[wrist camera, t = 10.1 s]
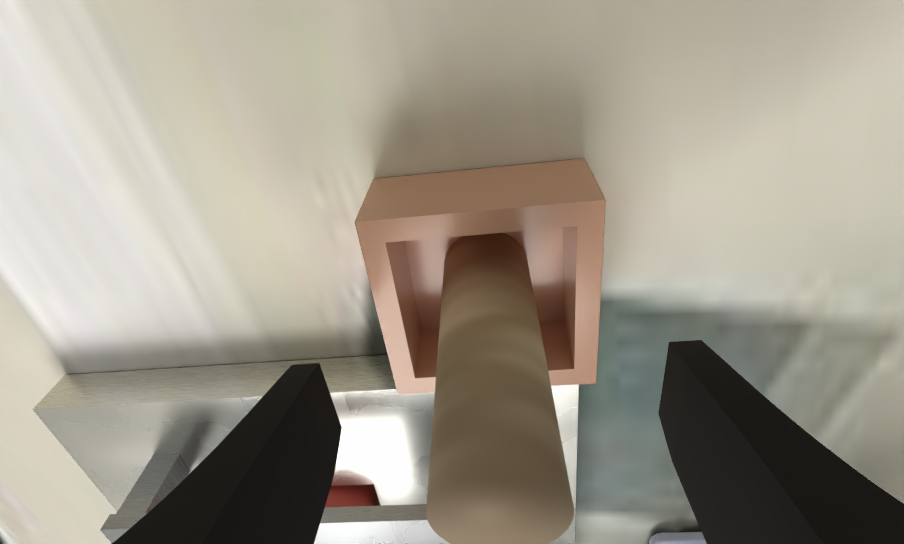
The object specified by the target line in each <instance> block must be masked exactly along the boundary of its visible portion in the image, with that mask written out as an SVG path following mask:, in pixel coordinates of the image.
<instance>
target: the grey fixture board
mask: <svg viewBox="0 0 904 544" xmlns="http://www.w3.org/2000/svg"><path fill="white" fill-rule="evenodd" d="M310 363H320V366H321V369H322V372H323V375H324V378H325V381H326V383H327V386H328V389H329V392H330V395H331V398H332V401H333V403H334V406H335V409H336V412H337V415H338V418H339V421H340V424H341V426H342V431H341V437H340V444H339V450H338V456H337V462H336V468H335V473H334V477H333V480H332V484H331V486H342V485H369V484H374V487H375V490H376V493H377V496H378V499H379V500H378V506H352V507H325V508H324V512H323V515H322V518H321V522H320V525H319V528H318V532H317V535H316V538H315V542H314V544H451V543H449V542H447V541H445V540H444V539H443V538H441V537H440V536H439V535H438V534H436V533H435V532H434V530H433V529H432V528H431V526H430V525H429V523H428V520H427V516H426V505H427V492H428V478H429V464H430V451H431V437H432V423H433V410H434V396H435V392H432V393H414V394H397V390H396V386H395V382H394V378H393V374H392V370H391V366H390V362H389V358H388V355H376V356H360V357H344V358H328V359H312V360H296V361H280V362H264V363H248V364H232V365H216V366H200V367H184V368H168V369H152V370H136V371H120V372H104V373H88V374H73V375H65V376H64V377H63V378H62V379H61V380H60V381H59V382H58V383H57V384H56V385H55V386H54V387H53V388H52V389H51V390H50V391H49V392H48V394H47V395H46V396H45V397H44V398H43V399H42V400H41V401H40V402H39V403H38V404H37V405H36V406H35V407H34V408H33V410H34V412H35V413H36V414H37V415H38V416H39V418H40V419H41V420H42V421H43V423H44V424H45V425H46V426H47V427H48V429H49V430H50V431H51V432H52V433H53V435H54V436H55V437H56V438H57V439H58V441H59V442H60V443H61V444H62V445H63V447H64V448H65V449H66V450H67V452H68V453H69V454H70V455H71V456H72V458H73V459H74V460H75V461H76V462H77V464H78V465H79V466H80V467H81V468H82V470H83V471H84V472H85V473H86V474H87V476H88V477H89V478H90V479H91V480H92V482H93V483H94V484H95V485H96V487H97V488H98V489H99V490H100V491H101V493H102V494H103V495H104V496H105V497H106V499H107V500H108V501H109V502H110V503H111V505H112V506H113V507H114V508H115V509H116V511H117V513H116V514H111V515H109V517H108V519H107V520H106V522H105V523H104V525H103V526H102V528H101V531H102V532H103V534H104V535H105V536H106V537H107V538H108V539H109V540H110V541H111V543H113V542H114V541H116V540H117V539H118V538H119V537H120V536H122V535H123V534H124V533H125V532H126V531H127V530H129V529H130V528H131V527H132V526H133V525H134V524H136V523H137V522H138V521H139V520H140V519H141V518H142V517H144V516H145V515H146V514H147V513H148V512H149V511H151V510H152V509H153V508H154V507H155V506H156V505H157V504H158V503H159V502H160V501H162V500H163V499H164V498H165V497H166V496H167V495H168V494H169V493H170V492H171V491H172V490H173V489H174V488H176V487H177V486H178V485H179V484H180V483H181V482H182V481H183V480H184V479H185V478H186V477H187V476H188V475H189V474H190V473H191V472H192V471H193V470H194V469H195V468H196V467H197V466H198V465H199V464H200V463H201V462H202V461H203V460H204V459H205V458H206V457H207V456H208V455H209V454H210V453H211V452H212V451H213V450H214V449H215V448H216V447H217V446H218V445H219V444H220V443H221V442H222V440H223V439H224V438H225V437H226V436H227V435H228V434H229V433H230V432H231V431H232V430H233V429H234V428H235V427H236V425H237V424H238V423H239V422H240V421H241V420H242V419H243V418H244V417H245V416H246V415H247V414H248V412H249V411H250V410H251V409H252V408H253V407H254V406H255V405H256V404H257V402H258V401H259V400H260V399H261V398H262V397H263V396H264V395H265V394H266V392H267V391H268V390H269V389H270V388H271V387H272V386H273V385H274V384H275V382H276V381H277V380H278V379H279V378H280V377H281V376H282V375H283V374H284V373H285V371H286V370H287V369H288V368H289V367H290V366H291V365H293V364H310ZM551 388H552V393H553V399H554V404H555V409H556V415H557V420H558V425H559V431H560V436H561V441H562V447H563V452H564V457H565V463H566V468H567V473H568V479H569V484H570V489H571V495H572V500H573V505H574V517H573V520H572V523H571V525H570V526H569V528H568V529H567V530H566V531H565V532H564V533H563V534H562V535H561V536H560V537H558V538H557V539H556V540H554V541H552V542H550V543H549V544H575V507H576V469H577V431H578V393H579V384H578V385H560V386H551Z"/></svg>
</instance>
